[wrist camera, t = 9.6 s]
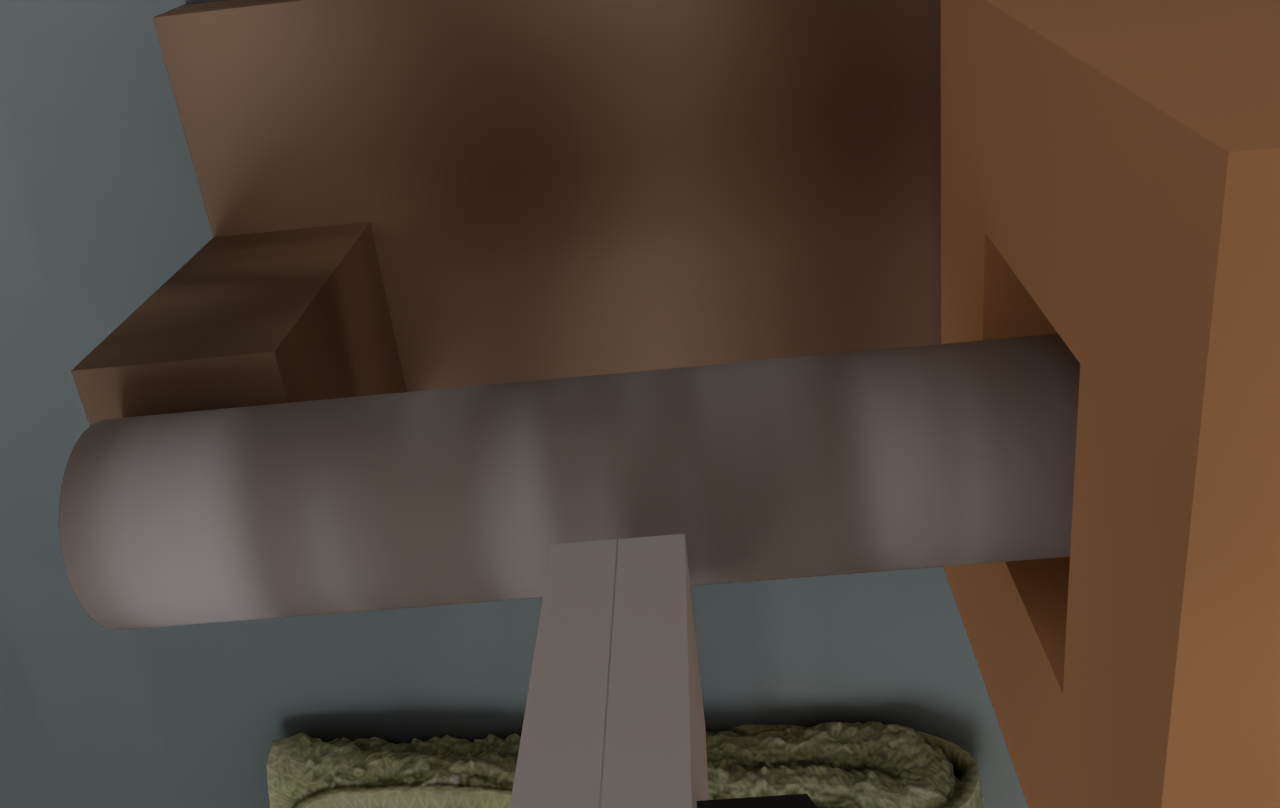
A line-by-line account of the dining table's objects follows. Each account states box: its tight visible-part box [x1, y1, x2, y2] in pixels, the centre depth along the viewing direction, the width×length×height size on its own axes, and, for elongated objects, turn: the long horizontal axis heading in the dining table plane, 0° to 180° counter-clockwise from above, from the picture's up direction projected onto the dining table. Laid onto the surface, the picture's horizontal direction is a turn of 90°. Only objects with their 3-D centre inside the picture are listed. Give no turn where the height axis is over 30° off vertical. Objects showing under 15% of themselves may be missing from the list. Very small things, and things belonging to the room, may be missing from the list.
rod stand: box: [59, 0, 1080, 630], centre depth 20 cm, size 22×12×10 cm, turn 96°
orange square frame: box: [941, 0, 1280, 808], centre depth 16 cm, size 3×11×11 cm, turn 7°
